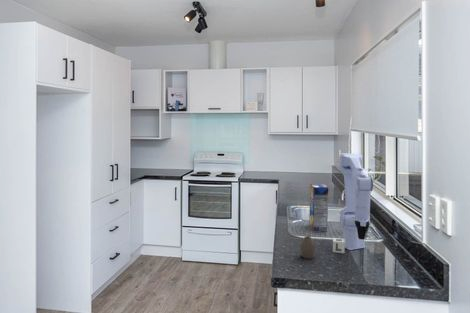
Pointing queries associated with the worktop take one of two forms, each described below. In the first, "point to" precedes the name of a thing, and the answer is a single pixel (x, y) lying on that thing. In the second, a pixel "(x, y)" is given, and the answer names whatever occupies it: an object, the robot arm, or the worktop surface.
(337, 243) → the letter cube
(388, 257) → the worktop surface
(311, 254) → the vase
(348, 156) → the robot arm
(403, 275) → the worktop surface
